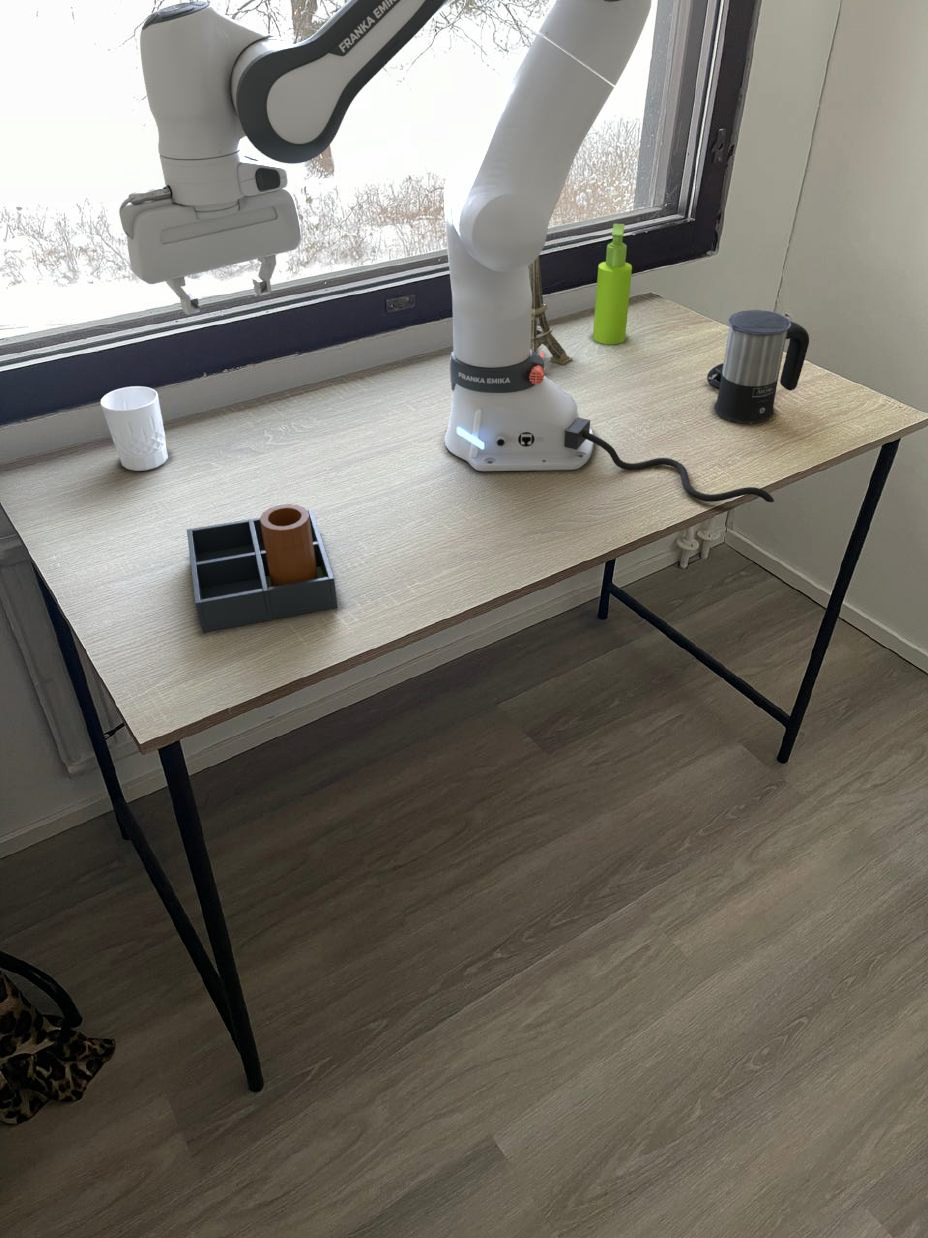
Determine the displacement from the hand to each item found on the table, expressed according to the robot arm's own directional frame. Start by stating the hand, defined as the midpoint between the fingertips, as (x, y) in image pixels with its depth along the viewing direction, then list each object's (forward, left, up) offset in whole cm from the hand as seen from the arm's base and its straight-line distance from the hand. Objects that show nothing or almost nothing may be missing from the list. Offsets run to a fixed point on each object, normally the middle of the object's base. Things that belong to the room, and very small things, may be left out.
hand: (228, 302), depth 112 cm
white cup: (+22, -9, -28) cm, 37 cm away
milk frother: (-65, -43, -28) cm, 83 cm away
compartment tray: (-6, +17, -28) cm, 34 cm away
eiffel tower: (-30, -53, -28) cm, 67 cm away
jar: (-11, +19, -27) cm, 35 cm away
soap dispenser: (-43, -65, -28) cm, 83 cm away
